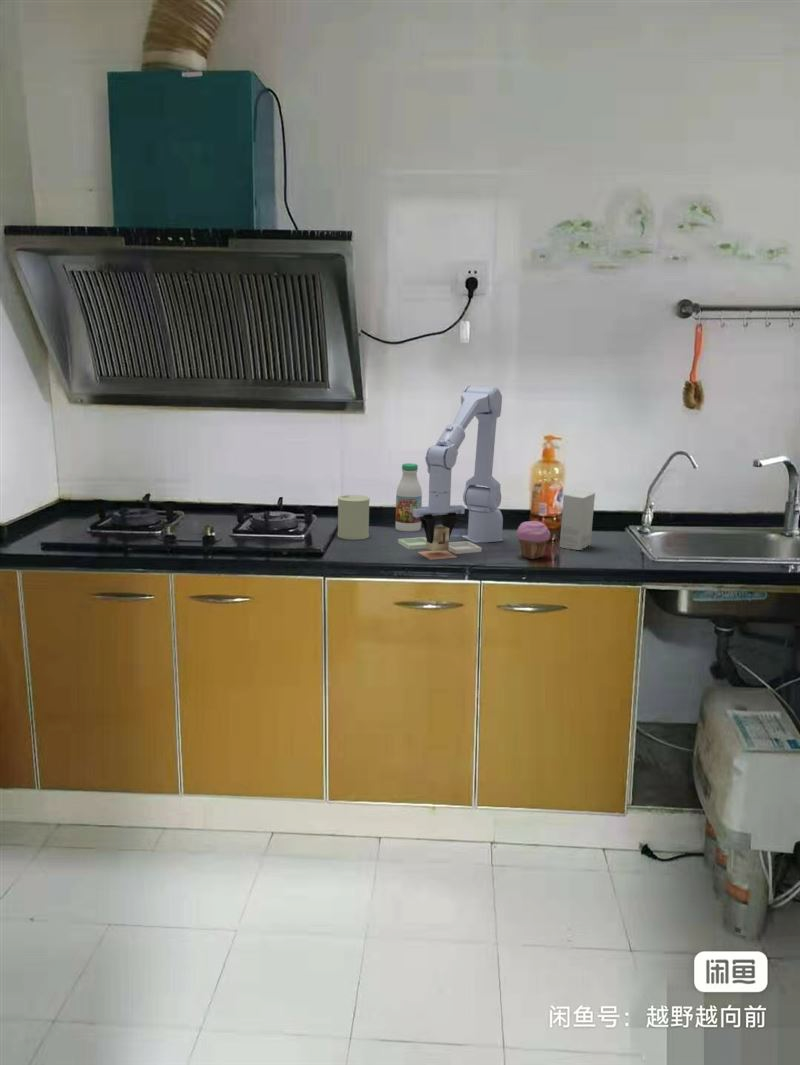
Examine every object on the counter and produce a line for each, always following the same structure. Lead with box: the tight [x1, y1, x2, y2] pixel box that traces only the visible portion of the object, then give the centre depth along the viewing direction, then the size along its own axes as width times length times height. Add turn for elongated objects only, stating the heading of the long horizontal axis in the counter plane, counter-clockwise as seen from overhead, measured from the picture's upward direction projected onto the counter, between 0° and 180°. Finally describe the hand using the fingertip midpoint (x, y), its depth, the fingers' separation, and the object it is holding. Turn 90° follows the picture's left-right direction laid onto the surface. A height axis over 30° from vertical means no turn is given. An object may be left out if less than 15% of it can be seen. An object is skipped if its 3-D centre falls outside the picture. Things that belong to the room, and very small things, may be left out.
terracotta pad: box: [417, 550, 458, 561], centre depth 231 cm, size 8×8×1 cm
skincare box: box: [559, 489, 596, 551], centre depth 243 cm, size 8×7×16 cm
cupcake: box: [515, 520, 551, 560], centre depth 231 cm, size 9×9×10 cm
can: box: [337, 494, 370, 540], centre depth 249 cm, size 9×9×12 cm
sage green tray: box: [397, 536, 427, 551], centre depth 241 cm, size 8×8×2 cm
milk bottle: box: [395, 463, 423, 532], centre depth 259 cm, size 8×8×20 cm
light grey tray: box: [448, 540, 483, 555], centre depth 237 cm, size 8×8×2 cm
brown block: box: [425, 524, 450, 552], centre depth 230 cm, size 4×4×6 cm
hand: (438, 541), depth 230 cm, fingers closed on brown block, 4 cm apart
